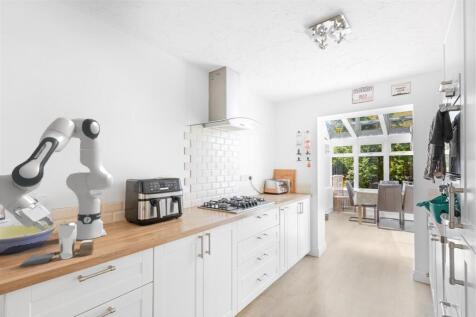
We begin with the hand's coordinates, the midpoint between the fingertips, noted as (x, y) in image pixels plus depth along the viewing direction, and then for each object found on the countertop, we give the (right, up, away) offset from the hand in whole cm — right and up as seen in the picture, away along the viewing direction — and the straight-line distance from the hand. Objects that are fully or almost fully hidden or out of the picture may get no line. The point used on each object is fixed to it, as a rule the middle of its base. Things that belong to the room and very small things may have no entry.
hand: (49, 227), depth 105 cm
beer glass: (+7, -15, +2) cm, 16 cm away
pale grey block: (+8, -15, +13) cm, 22 cm away
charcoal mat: (-3, -14, -1) cm, 15 cm away
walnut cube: (+13, -15, +6) cm, 21 cm away
